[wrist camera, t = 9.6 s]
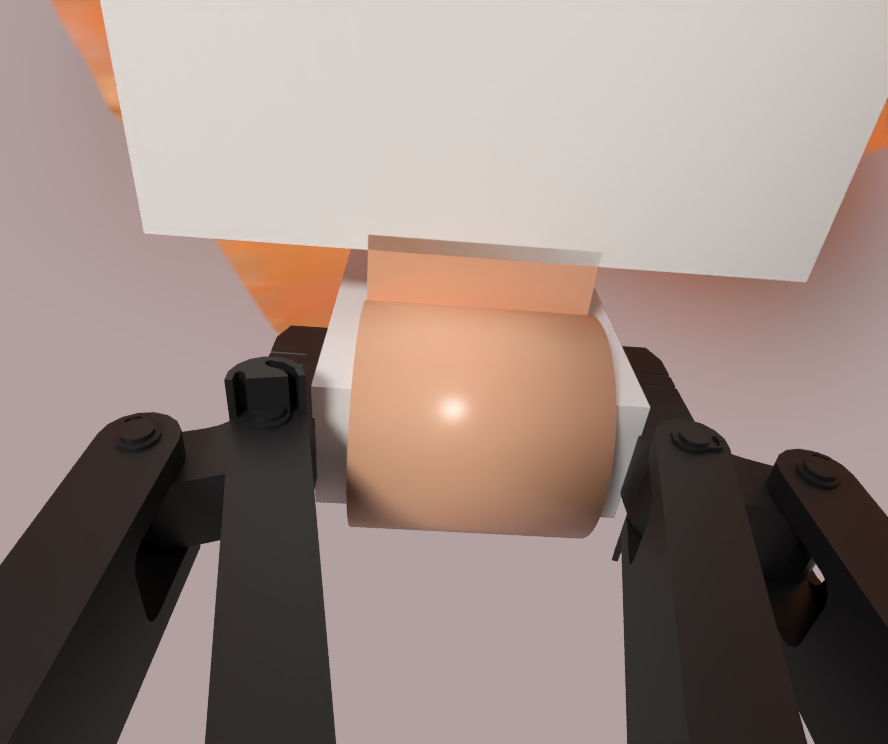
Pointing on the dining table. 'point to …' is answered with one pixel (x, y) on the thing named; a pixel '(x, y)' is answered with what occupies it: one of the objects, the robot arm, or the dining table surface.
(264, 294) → the dining table surface
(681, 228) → the lid
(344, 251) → the dining table surface
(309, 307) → the dining table surface
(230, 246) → the dining table surface
